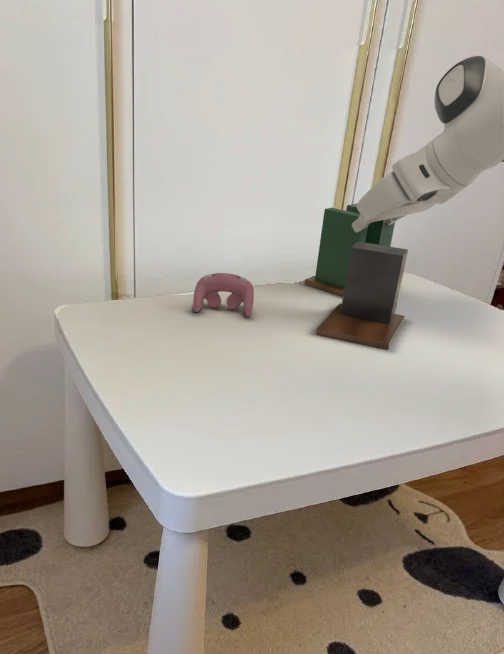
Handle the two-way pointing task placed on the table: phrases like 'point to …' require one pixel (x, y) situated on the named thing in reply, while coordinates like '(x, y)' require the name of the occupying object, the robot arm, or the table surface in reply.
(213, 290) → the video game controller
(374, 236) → the green bookend
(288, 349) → the table surface
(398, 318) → the wooden bookend
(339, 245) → the green book
